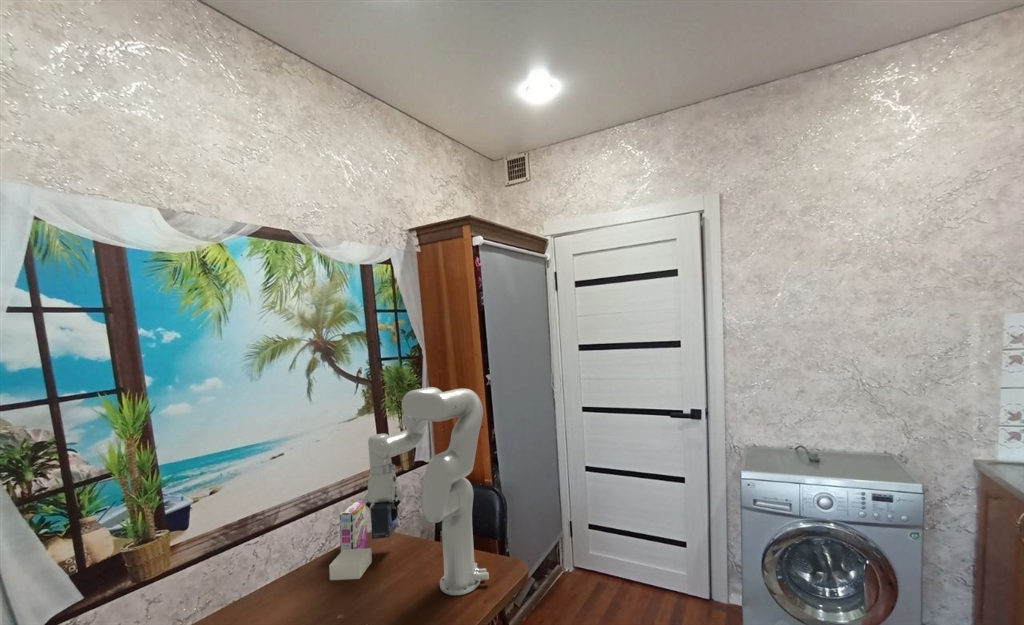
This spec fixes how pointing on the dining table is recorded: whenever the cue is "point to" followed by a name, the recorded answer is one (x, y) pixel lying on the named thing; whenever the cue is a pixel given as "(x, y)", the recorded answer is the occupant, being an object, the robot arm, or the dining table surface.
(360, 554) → the base block
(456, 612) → the dining table surface
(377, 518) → the small box
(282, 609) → the dining table surface
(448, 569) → the robot arm
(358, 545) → the candy bar box
